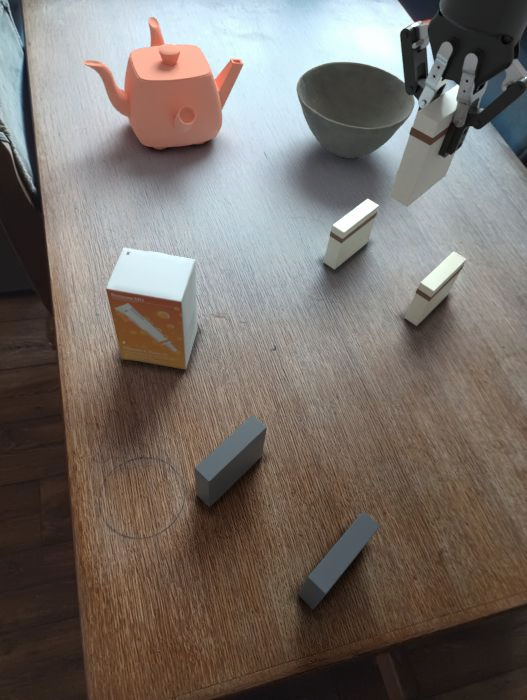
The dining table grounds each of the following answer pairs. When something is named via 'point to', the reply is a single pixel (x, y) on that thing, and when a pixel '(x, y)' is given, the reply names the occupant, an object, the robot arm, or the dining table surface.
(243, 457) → the grey parallel blocks
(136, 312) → the small box
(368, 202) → the cream books
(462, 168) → the dining table surface
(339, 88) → the bowl
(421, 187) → the white box
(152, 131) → the teapot
